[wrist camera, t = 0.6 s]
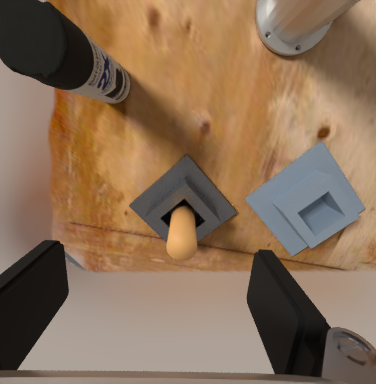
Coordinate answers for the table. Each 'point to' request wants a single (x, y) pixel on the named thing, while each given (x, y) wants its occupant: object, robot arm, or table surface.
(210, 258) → the table surface
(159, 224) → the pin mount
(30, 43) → the spray can
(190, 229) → the lock pin
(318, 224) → the socket block
